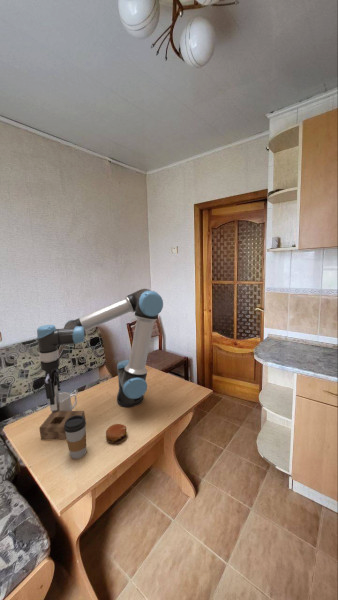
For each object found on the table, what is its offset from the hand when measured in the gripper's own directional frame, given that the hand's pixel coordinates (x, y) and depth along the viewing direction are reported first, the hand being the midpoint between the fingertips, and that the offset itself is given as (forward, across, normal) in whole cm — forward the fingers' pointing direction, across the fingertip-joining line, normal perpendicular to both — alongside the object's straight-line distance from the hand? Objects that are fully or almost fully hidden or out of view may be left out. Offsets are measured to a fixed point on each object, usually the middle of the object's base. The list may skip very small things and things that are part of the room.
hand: (55, 407), depth 115 cm
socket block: (+13, -1, +2) cm, 13 cm away
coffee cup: (+13, +16, +13) cm, 24 cm away
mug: (+13, -13, 0) cm, 18 cm away
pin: (+2, 0, 0) cm, 2 cm away
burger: (+13, +9, +28) cm, 32 cm away
